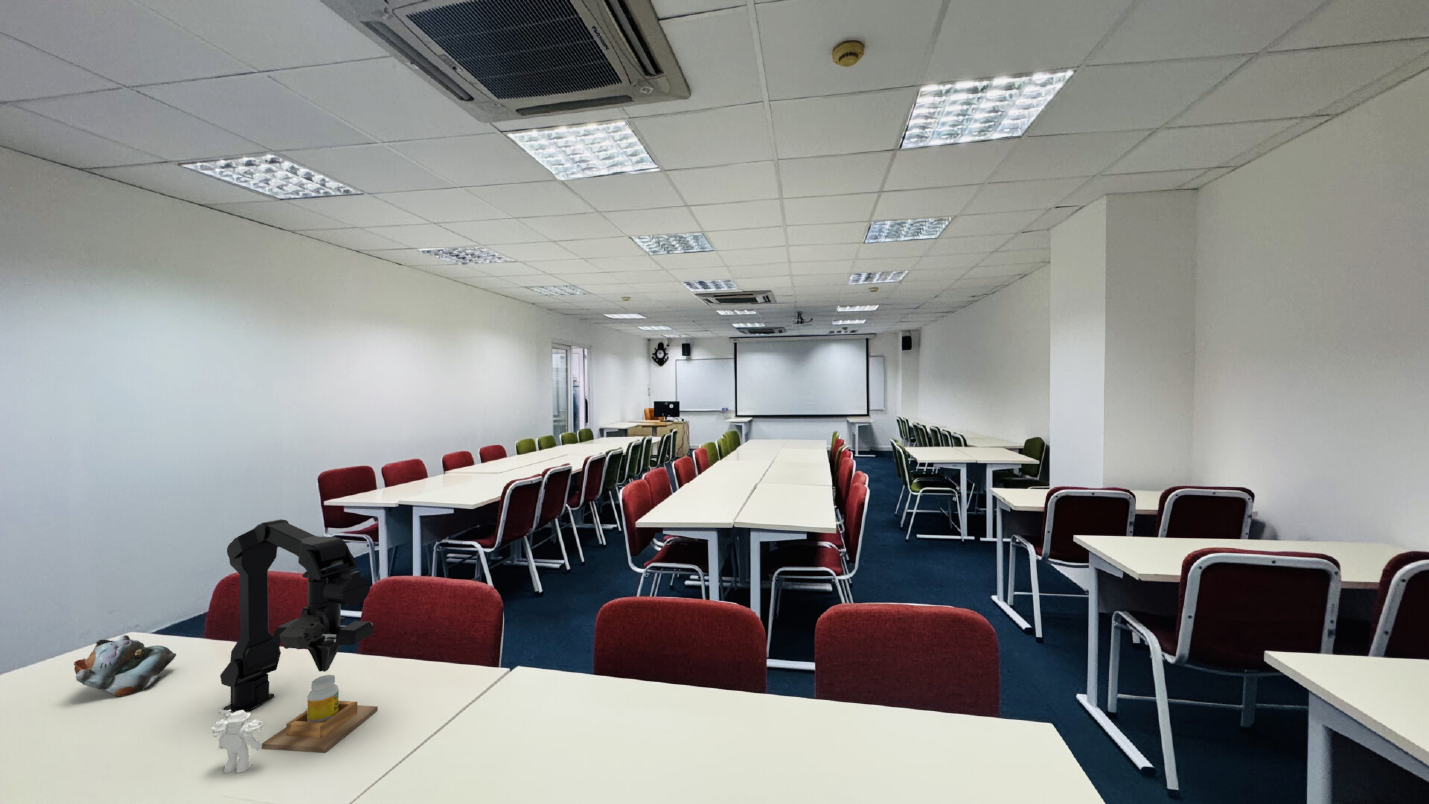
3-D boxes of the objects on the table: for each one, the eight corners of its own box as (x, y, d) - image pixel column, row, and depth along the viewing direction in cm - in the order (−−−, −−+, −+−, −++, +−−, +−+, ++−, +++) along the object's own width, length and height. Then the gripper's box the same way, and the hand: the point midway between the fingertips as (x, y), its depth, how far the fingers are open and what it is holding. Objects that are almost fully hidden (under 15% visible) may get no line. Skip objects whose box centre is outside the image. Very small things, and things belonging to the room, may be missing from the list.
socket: (261, 748, 102) (261, 731, 102) (320, 707, 116) (320, 692, 116) (325, 752, 101) (325, 735, 101) (377, 710, 115) (377, 695, 115)
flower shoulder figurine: (204, 775, 95) (205, 712, 95) (225, 760, 99) (226, 699, 99) (251, 776, 94) (252, 712, 95) (270, 761, 98) (271, 700, 99)
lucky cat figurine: (139, 697, 120) (95, 656, 115) (88, 718, 119) (42, 678, 114) (189, 650, 134) (152, 612, 129) (144, 669, 133) (105, 631, 128)
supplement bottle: (307, 722, 109) (307, 678, 109) (337, 712, 112) (338, 670, 112) (307, 735, 105) (307, 689, 105) (338, 724, 108) (339, 680, 108)
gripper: (247, 612, 102) (246, 689, 101) (333, 615, 100) (332, 694, 100) (297, 592, 113) (296, 661, 112) (375, 595, 111) (374, 665, 111)
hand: (323, 670), depth 109 cm, fingers closed
